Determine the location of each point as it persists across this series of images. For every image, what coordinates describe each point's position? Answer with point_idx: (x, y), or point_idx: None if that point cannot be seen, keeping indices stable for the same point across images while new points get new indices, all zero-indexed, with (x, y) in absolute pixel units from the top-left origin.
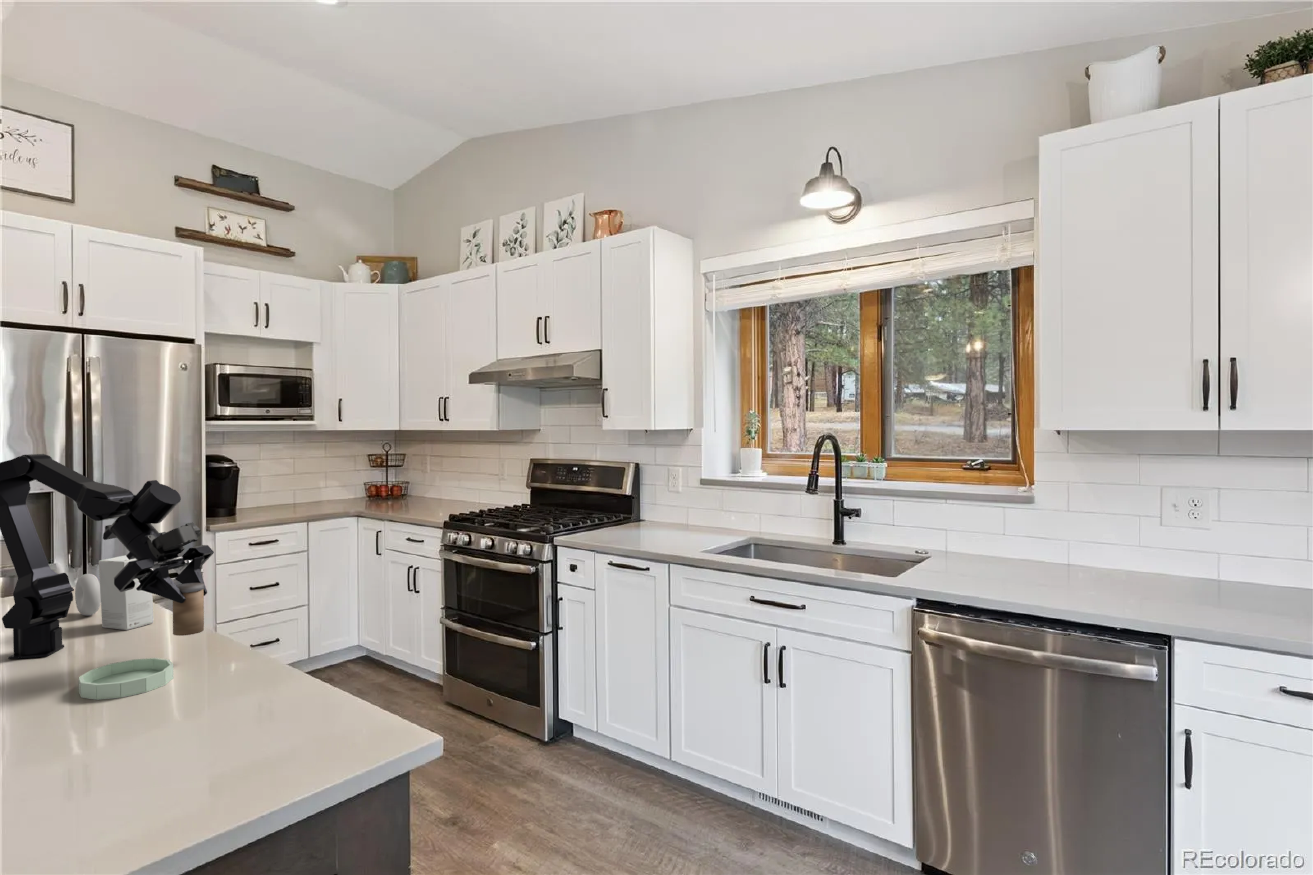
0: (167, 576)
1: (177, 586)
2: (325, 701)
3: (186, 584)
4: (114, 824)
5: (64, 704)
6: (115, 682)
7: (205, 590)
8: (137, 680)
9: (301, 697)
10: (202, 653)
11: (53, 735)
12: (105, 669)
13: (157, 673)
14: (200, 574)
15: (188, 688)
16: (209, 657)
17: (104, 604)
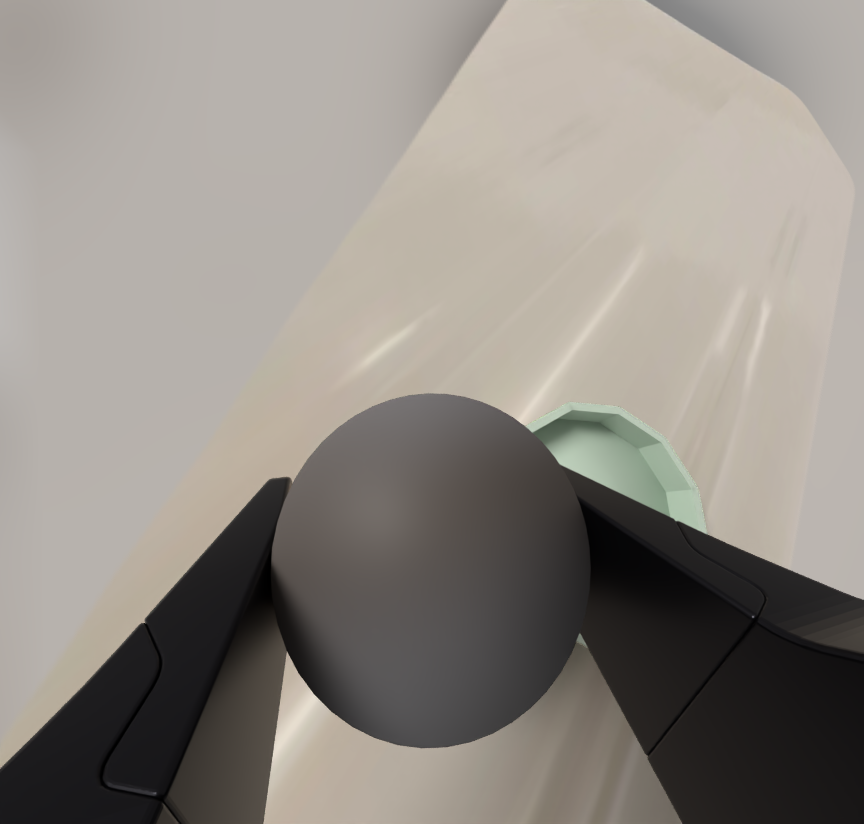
0: (824, 624)
1: (515, 638)
2: (500, 73)
3: (400, 636)
4: (794, 148)
5: None
6: (669, 453)
7: (275, 489)
8: (633, 417)
9: (499, 112)
10: None
11: (767, 399)
12: None
13: (589, 404)
14: (110, 680)
15: (541, 341)
16: None
17: None
